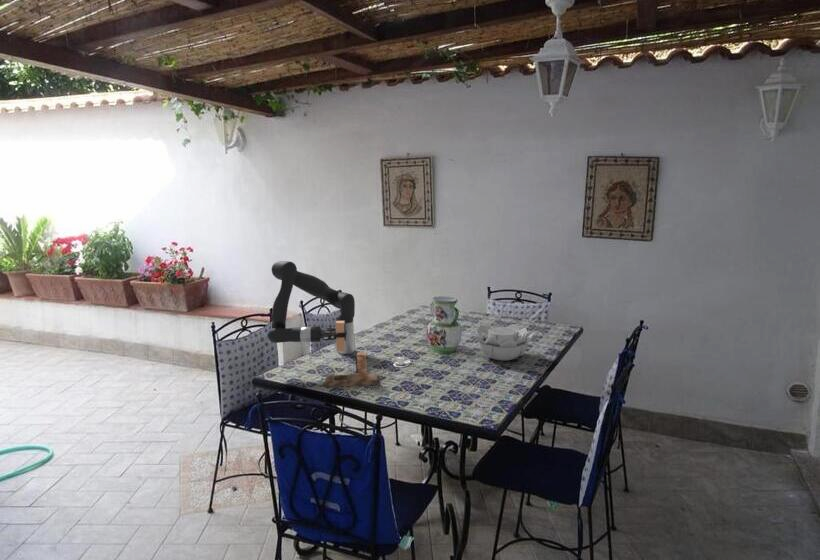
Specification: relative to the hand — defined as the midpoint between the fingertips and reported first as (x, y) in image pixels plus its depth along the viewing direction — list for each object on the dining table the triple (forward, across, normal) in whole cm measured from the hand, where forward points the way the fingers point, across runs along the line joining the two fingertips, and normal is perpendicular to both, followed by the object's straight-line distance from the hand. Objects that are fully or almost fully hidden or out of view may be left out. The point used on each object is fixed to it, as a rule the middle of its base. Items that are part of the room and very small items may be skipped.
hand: (346, 333), depth 252 cm
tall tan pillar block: (-3, 0, +8) cm, 8 cm away
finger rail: (+3, -13, +20) cm, 24 cm away
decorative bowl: (+81, +15, +19) cm, 84 cm away
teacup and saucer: (+29, +7, +20) cm, 36 cm away
